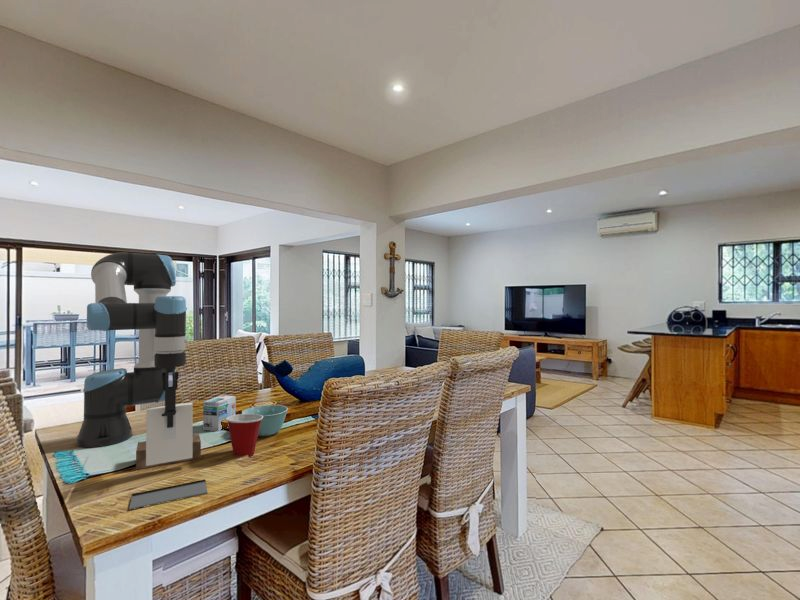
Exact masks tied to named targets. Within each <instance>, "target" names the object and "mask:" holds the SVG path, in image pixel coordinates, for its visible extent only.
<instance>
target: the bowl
mask: <svg viewBox="0 0 800 600" xmlns="http://www.w3.org/2000/svg"><path fill="white" fill-rule="evenodd" d="M288 411H289V408H288V407H287V406H285V405H280V404H264V405H263V404H262V405H256V406H253V407H248V408H245V409H244V410H242V412H241V414H258V415H262V416H263V419H262V420H261V423H260V426H259V431H258V437H269V436H273V435H275V434H278V432H280V431H281V430H282V428H283V425H284V422H285V419H286V415H287V413H288Z"/></svg>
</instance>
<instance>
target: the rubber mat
mask: <svg viewBox="0 0 800 600" xmlns="http://www.w3.org/2000/svg"><path fill="white" fill-rule="evenodd" d="M202 495H208V489H207V484H206V479H200V480H196V481H191V482H187V483H181V484H176V485H171V486H166V487H161V488H157V489H156V488H155V489H151V490H145V491H140V492H136V493H132V494H131V497H130V504H129V510H130V511H132V510H131V509H134V508H139V507H144V506H147V505H153V504H157V505H159V504H158V503H162V502H167V501H171V502H173V501H172V500H176V499H180V498H185V499H187V498H186V497H189V498H193V496H194V497H198V496H202ZM180 500H181V499H180ZM176 501H177V500H176ZM167 503H168V502H167ZM162 504H163V503H162ZM153 506H154V505H153ZM144 508H145V507H144ZM139 509H140V508H139ZM134 510H135V509H134Z"/></svg>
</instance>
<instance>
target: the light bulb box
mask: <svg viewBox="0 0 800 600" xmlns="http://www.w3.org/2000/svg"><path fill="white" fill-rule="evenodd" d="M236 400H237V397H236V396H235V395H225V394H224V395H223V394H220V395H218V396H216V397H213V398H210V399H207V400H204V401H202V402H203V407H202V408H203V409H202V411H203V412H202V418H203V421H202V424H203V425H202V430H203V431H204V430H210V431H209V432H221V431H222V430H221V429H222V425H221V421H222V420H223V419H226V418H227V417H228V416H232V415H236V406H237V405H236V403H237V402H236ZM220 430H221V431H220Z"/></svg>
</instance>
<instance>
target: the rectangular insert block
mask: <svg viewBox="0 0 800 600" xmlns="http://www.w3.org/2000/svg"><path fill="white" fill-rule="evenodd" d="M193 407H194V404H193V402H185V403H177V404H176V438H174V439H167V440H164V416H162V414H164V412H165V406H164V405H157V406H149V407H148V406H147V407H146V409H145V410H146V413H145V414H146V415H145V417H146V419H145V421H146V422H145V427H146V428H145V441H146V466H149V465H155V464H161V463H166V462H172V461H178V460H184V459H189V458H192V455H193V434H194V432H193V431H194V429H193V428H194V427H193V424H194V423H193V422H194V421H193V418H194V414H193V413H194V409H193Z"/></svg>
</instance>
